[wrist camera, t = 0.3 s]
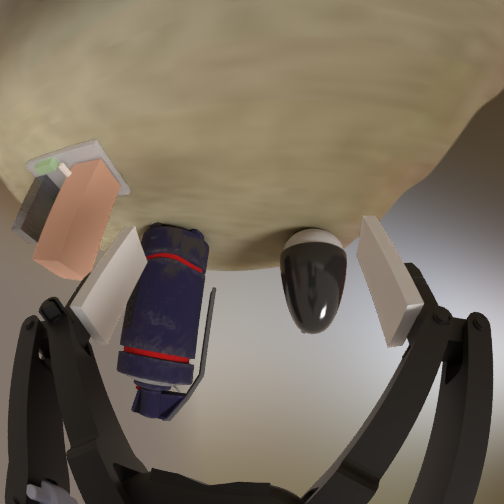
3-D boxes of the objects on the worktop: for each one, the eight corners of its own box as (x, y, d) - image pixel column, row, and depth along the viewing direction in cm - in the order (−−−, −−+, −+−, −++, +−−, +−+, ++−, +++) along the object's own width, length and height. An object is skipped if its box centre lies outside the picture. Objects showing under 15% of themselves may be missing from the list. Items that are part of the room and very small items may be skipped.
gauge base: (27, 161, 27) (21, 171, 26) (96, 139, 25) (88, 151, 24) (61, 198, 36) (57, 208, 35) (130, 189, 34) (126, 201, 33)
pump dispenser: (276, 248, 47) (271, 336, 40) (287, 215, 37) (283, 326, 31) (332, 253, 47) (333, 339, 41) (354, 224, 38) (361, 328, 31)
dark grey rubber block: (35, 177, 29) (11, 229, 25) (46, 174, 29) (20, 229, 25) (49, 192, 33) (28, 243, 29) (60, 190, 32) (38, 243, 29)
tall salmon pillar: (65, 154, 25) (20, 251, 20) (93, 147, 25) (45, 252, 19) (100, 197, 34) (71, 283, 28) (127, 195, 33) (99, 287, 28)
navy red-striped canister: (148, 246, 50) (122, 401, 38) (141, 214, 40) (104, 412, 27) (216, 258, 53) (199, 415, 40) (226, 229, 42) (204, 430, 30)
